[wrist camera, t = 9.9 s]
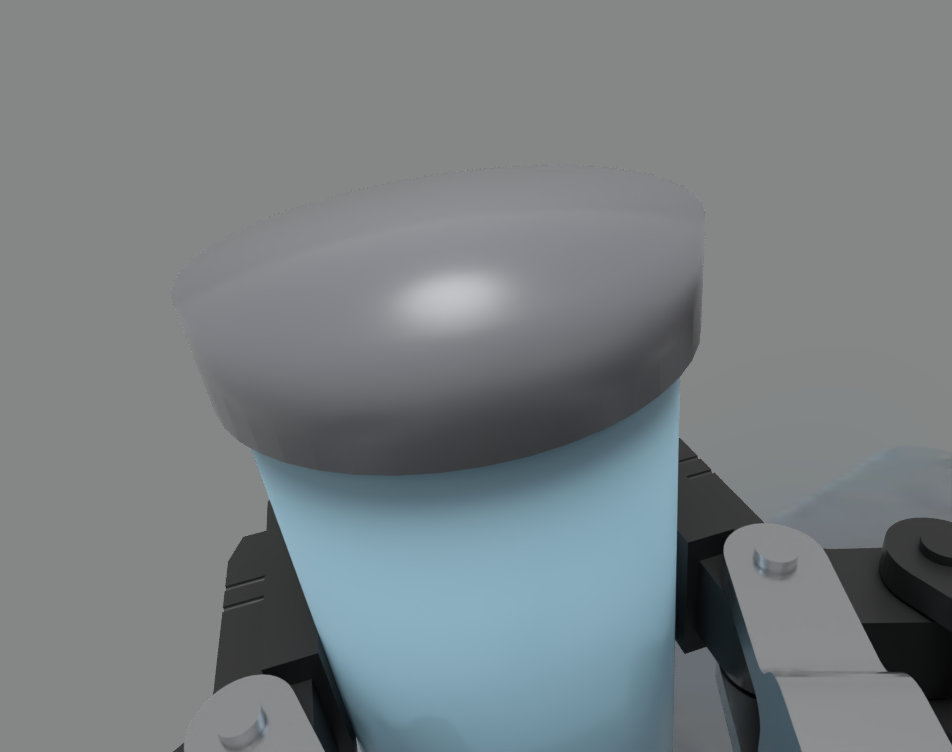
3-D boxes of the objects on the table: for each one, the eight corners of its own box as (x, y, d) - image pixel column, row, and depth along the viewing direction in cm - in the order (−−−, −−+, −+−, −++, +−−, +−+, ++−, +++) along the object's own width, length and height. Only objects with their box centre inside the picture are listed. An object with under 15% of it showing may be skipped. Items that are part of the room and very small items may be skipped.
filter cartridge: (532, 711, 17) (451, 157, 10) (731, 872, 13) (805, 179, 7) (365, 892, 14) (94, 271, 7) (565, 1163, 10) (394, 424, 4)
